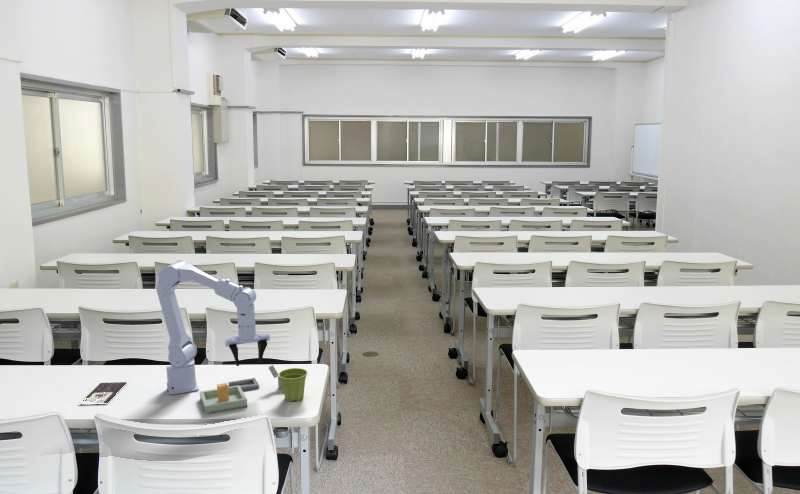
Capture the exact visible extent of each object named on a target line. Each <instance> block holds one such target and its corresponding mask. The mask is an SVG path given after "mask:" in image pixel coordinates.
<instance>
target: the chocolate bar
mask: <svg viewBox="0 0 800 494" xmlns="http://www.w3.org/2000/svg"><path fill="white" fill-rule="evenodd" d="M126 383H127V381H124V382H123V381H120V382H119V381H117V382H100V383H99V384H98V385H97V386H96V387H94V389H93V390H92V391H91V392H90V393H89V394H87V395H86V396H85V398H89V399H88V400H87V399H86V400H85V401H90V402H93V401H96V399H101V400H100V401H99V400H98V401H97V402H96V403H108V402H109V401H110V400H111V399H112V398H113V397H114V396H115V395H116V393H117V392H118V391H119V390H120V389H121V388H122V387H123V386H124V385H125V384H126ZM127 384H128V383H127ZM127 384H126V385H127ZM126 385H125V386H126ZM125 386H124V387H125ZM124 387H123V388H124ZM123 388H122V389H123ZM122 389H121V390H122ZM121 390H120V391H121ZM120 391H119V392H120ZM104 392H105V393H104ZM119 392H118V393H119ZM98 393H99V394H98ZM118 393H117V394H118ZM92 394H93V395H92ZM103 395H104V396H103ZM97 396H98V397H97ZM115 397H116V396H115ZM115 397H114V398H115ZM90 398H91V399H90ZM103 398H104V399H103ZM114 398H113V399H114ZM102 399H103V400H102ZM113 399H112V400H113ZM82 400H83V399H82ZM112 400H111V401H112ZM83 401H84V400H83ZM111 401H110V402H111ZM110 402H109V403H110ZM94 403H95V402H94ZM109 403H108V404H109Z"/></svg>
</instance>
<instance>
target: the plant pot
mask: <svg viewBox="0 0 800 494" xmlns="http://www.w3.org/2000/svg"><path fill="white" fill-rule="evenodd" d="M278 375H279V377H280V380H281V382H282V386H283V388H282V390H283V395H284V399H285V400H286V401H288V402H294V401H296V402H298V401H302V400H303V398H304V397H305V386H306V385H305V384H306V378H307V376H308V371H307V369H305V368H301V367H299V368H298V367H293V368H286V369H283V370H281V371H280V372H278Z"/></svg>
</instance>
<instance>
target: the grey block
mask: <svg viewBox="0 0 800 494" xmlns="http://www.w3.org/2000/svg"><path fill="white" fill-rule="evenodd" d="M268 370H269V371H270V373H271V375H272V376H273V378H274V379H275V378H277V388H278V389H283V386H282V382H281V380H280V377H279V375H278V374H279V372H277V370H276V368H275V366H274V364H272V365H269V366H268Z"/></svg>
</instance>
